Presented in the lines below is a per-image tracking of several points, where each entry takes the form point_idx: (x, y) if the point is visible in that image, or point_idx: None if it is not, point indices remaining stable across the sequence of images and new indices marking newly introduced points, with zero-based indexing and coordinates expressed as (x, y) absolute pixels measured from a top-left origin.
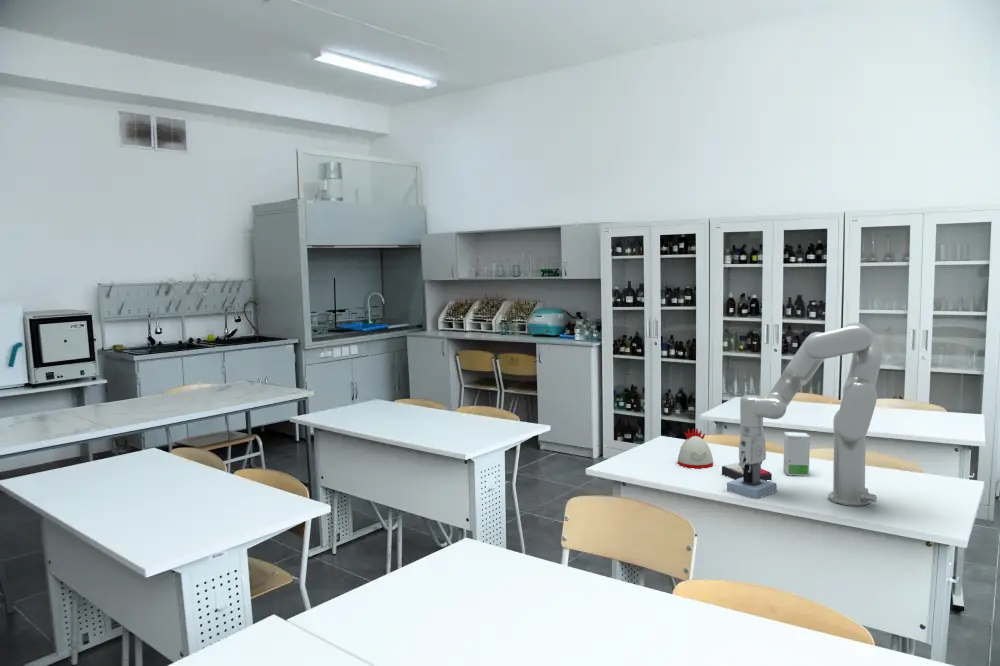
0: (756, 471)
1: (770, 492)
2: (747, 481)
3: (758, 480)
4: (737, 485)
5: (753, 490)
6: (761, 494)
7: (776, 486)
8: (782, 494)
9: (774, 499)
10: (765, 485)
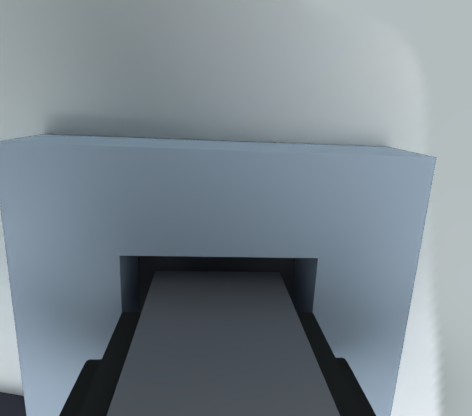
0: (230, 401)
1: (155, 139)
2: None
3: (178, 303)
4: (394, 384)
5: (419, 200)
6: (322, 146)
7: (17, 138)
8: (78, 37)
9: (291, 11)
10: (191, 188)
